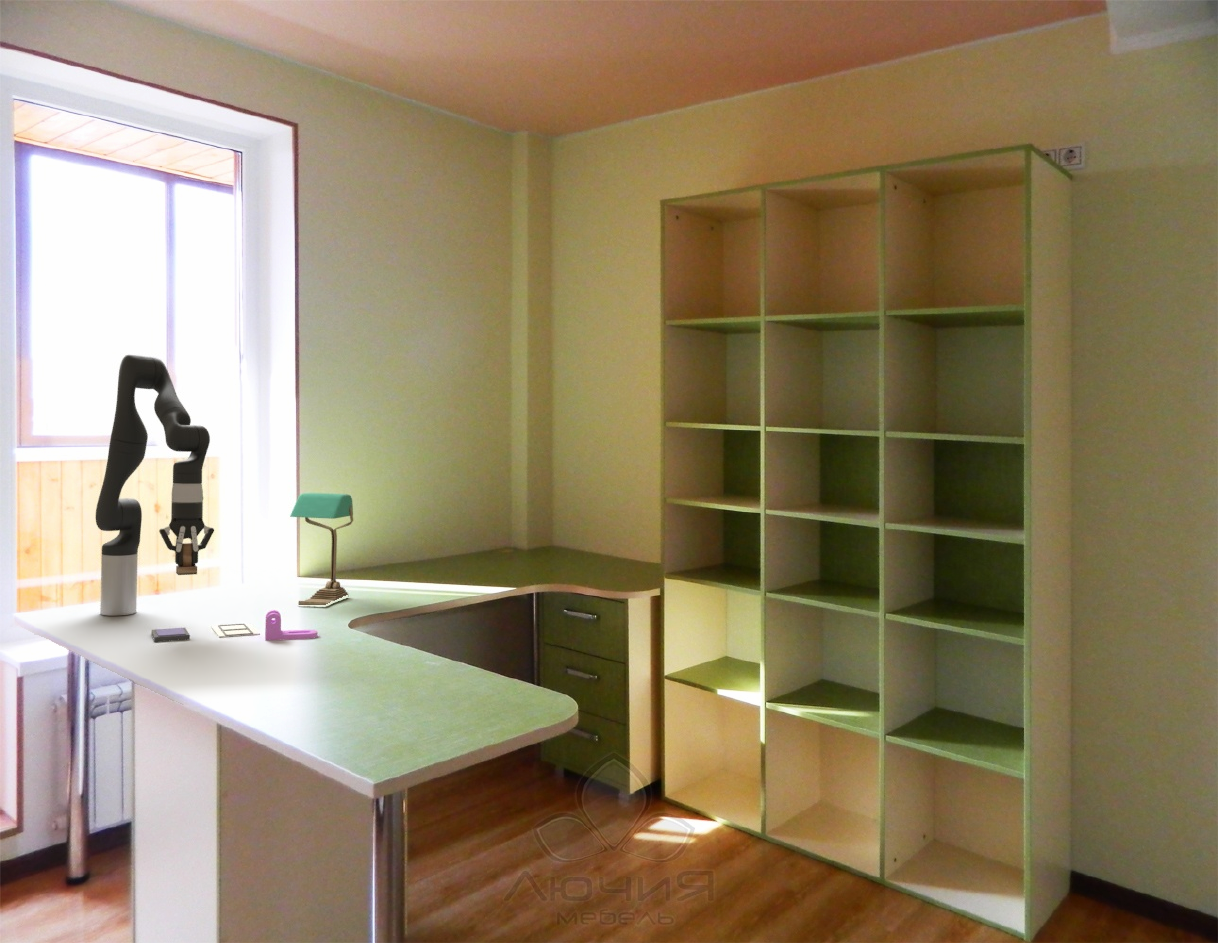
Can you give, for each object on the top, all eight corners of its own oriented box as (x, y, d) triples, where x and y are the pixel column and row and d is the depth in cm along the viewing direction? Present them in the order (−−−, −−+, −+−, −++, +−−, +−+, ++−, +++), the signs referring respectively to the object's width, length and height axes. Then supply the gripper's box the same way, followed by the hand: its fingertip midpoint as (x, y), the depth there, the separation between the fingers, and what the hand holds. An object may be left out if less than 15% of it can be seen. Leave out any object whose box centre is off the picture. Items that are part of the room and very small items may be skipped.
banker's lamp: (359, 598, 303) (362, 493, 303) (334, 609, 283) (337, 496, 282) (313, 596, 305) (316, 491, 304) (285, 606, 284) (288, 494, 283)
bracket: (265, 640, 237) (265, 614, 237) (265, 636, 242) (265, 610, 242) (317, 638, 241) (318, 612, 241) (316, 634, 246) (317, 608, 246)
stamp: (176, 573, 243) (176, 543, 243) (194, 572, 246) (194, 542, 246) (178, 575, 240) (178, 544, 239) (197, 574, 242) (197, 544, 242)
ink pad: (151, 634, 239) (151, 628, 239) (185, 632, 243) (185, 626, 243) (154, 641, 230) (155, 636, 230) (189, 639, 234) (189, 634, 234)
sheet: (211, 627, 250) (211, 625, 250) (250, 624, 255) (250, 623, 255) (219, 637, 238) (219, 635, 238) (259, 634, 243) (259, 632, 243)
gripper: (213, 499, 249) (212, 563, 249) (156, 500, 242) (155, 565, 242) (218, 501, 243) (217, 566, 243) (159, 501, 235) (159, 568, 236)
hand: (186, 565), depth 243 cm, fingers closed on stamp, 2 cm apart
